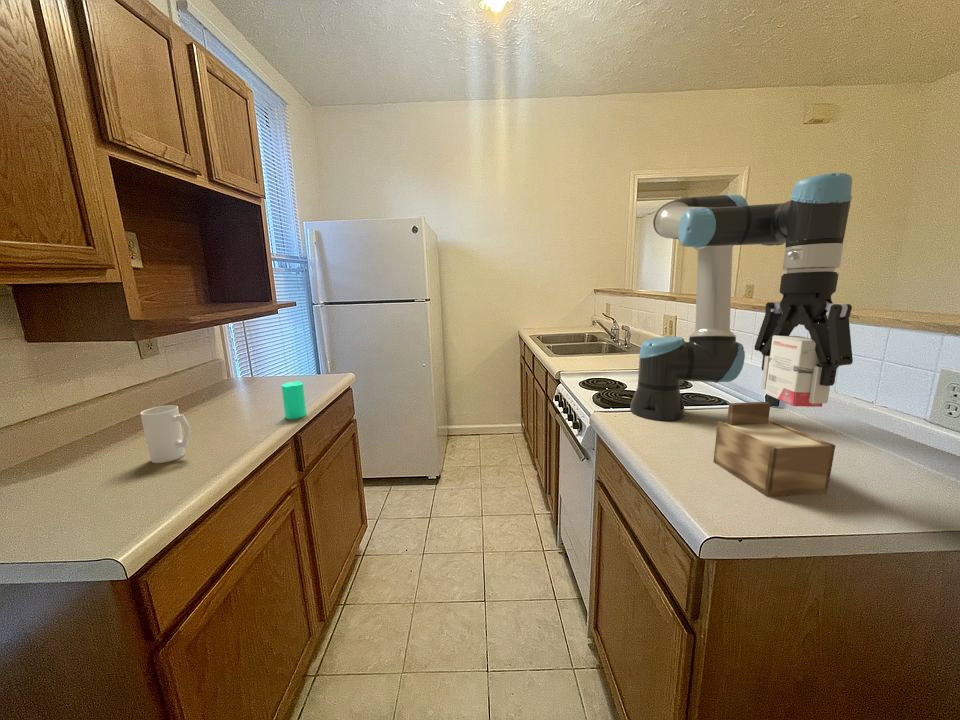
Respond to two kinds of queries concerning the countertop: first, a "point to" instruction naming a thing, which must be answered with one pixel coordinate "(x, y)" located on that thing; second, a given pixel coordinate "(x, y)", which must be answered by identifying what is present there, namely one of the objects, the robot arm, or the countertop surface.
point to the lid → (762, 425)
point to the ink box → (791, 370)
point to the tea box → (774, 462)
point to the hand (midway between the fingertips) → (791, 394)
